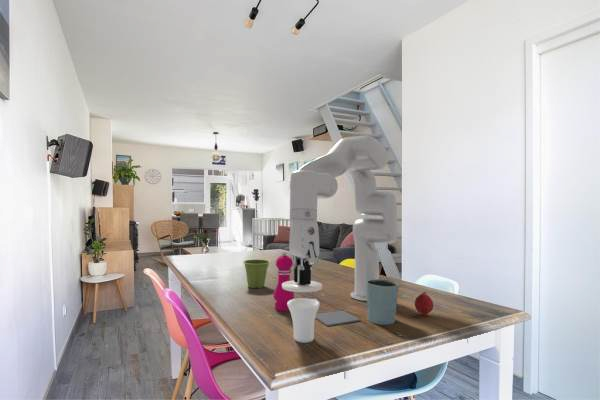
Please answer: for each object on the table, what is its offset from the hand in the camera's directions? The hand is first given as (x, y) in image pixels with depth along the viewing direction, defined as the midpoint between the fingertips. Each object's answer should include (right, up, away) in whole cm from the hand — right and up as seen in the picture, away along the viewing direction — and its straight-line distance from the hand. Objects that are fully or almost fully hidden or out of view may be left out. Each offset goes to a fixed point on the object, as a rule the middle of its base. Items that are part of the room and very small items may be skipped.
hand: (302, 282), depth 90 cm
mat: (+11, -16, +16) cm, 25 cm away
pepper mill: (-6, -16, +27) cm, 32 cm away
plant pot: (-20, -16, +58) cm, 63 cm away
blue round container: (+26, -16, +15) cm, 34 cm away
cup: (0, -15, 0) cm, 15 cm away
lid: (0, -1, 0) cm, 1 cm away
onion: (+41, -16, +21) cm, 49 cm away
